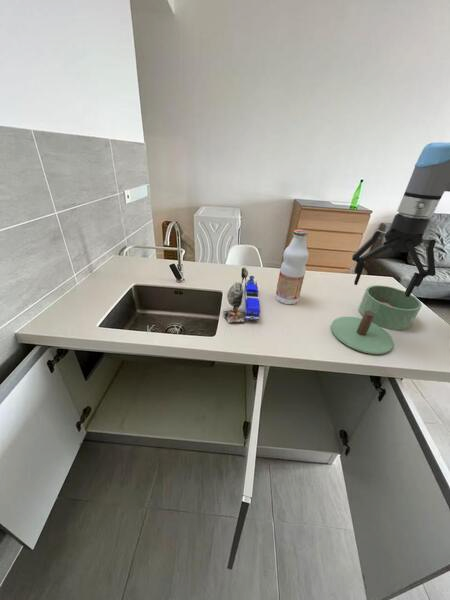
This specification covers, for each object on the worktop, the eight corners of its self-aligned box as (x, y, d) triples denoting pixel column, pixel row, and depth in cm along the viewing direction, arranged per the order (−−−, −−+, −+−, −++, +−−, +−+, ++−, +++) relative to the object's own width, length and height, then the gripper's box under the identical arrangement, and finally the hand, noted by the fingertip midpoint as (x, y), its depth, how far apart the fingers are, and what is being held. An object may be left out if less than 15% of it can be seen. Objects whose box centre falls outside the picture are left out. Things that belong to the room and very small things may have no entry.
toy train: (255, 288, 106) (257, 272, 102) (258, 323, 85) (261, 304, 81) (243, 288, 106) (245, 271, 102) (244, 322, 85) (246, 303, 81)
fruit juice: (282, 306, 95) (296, 235, 80) (271, 294, 103) (282, 227, 88) (302, 303, 98) (320, 234, 83) (290, 292, 105) (304, 227, 91)
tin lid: (389, 329, 86) (400, 307, 81) (394, 363, 71) (408, 340, 66) (333, 313, 92) (340, 292, 88) (327, 342, 78) (336, 319, 73)
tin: (407, 311, 97) (416, 292, 92) (414, 336, 83) (426, 315, 78) (358, 299, 103) (365, 281, 98) (358, 320, 89) (366, 301, 85)
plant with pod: (244, 307, 93) (249, 258, 83) (245, 325, 83) (252, 272, 73) (223, 306, 93) (225, 257, 82) (222, 324, 83) (225, 271, 73)
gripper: (359, 210, 63) (335, 283, 74) (481, 226, 54) (433, 306, 65) (359, 206, 69) (337, 274, 80) (469, 220, 60) (427, 294, 71)
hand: (380, 288), depth 72 cm, fingers open, 13 cm apart
